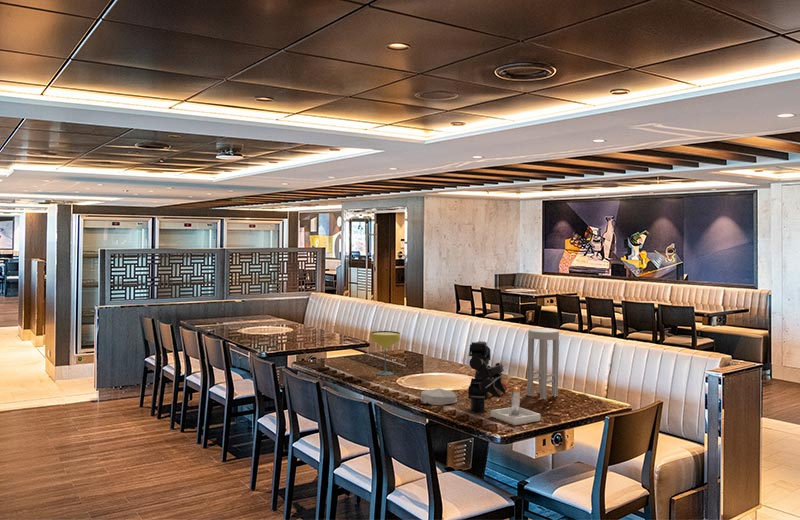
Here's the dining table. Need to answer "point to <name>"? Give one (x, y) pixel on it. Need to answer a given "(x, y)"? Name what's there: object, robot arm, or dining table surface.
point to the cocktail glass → (385, 343)
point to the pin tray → (526, 417)
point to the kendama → (499, 390)
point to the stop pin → (515, 403)
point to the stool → (543, 361)
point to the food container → (438, 397)
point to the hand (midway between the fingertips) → (502, 395)
